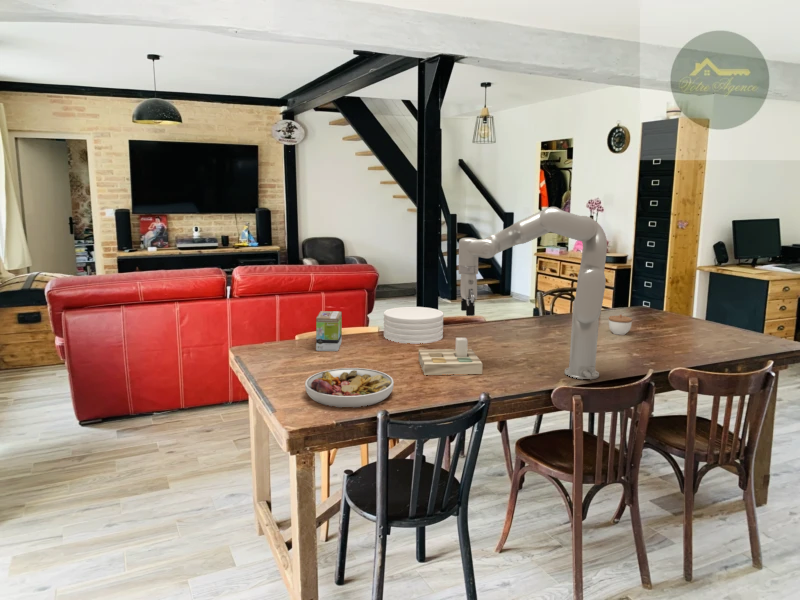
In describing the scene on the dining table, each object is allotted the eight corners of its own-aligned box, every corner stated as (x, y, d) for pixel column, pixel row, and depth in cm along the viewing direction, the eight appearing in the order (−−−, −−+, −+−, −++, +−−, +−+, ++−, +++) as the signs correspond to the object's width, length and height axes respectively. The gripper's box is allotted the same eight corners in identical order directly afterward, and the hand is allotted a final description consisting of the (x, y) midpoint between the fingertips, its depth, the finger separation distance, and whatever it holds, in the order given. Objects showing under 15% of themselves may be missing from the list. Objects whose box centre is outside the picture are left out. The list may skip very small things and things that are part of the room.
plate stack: (453, 334, 288) (454, 311, 286) (423, 347, 265) (423, 322, 263) (404, 326, 303) (404, 304, 301) (371, 338, 280) (371, 314, 278)
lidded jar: (628, 337, 285) (630, 318, 283) (605, 334, 291) (606, 315, 289) (632, 332, 294) (634, 314, 292) (610, 329, 300) (611, 311, 298)
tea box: (339, 351, 257) (338, 317, 254) (315, 351, 257) (315, 317, 254) (342, 342, 272) (341, 310, 269) (320, 342, 272) (319, 310, 269)
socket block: (482, 374, 227) (482, 362, 226) (424, 375, 225) (424, 363, 224) (471, 359, 247) (472, 348, 246) (418, 360, 245) (418, 348, 244)
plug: (466, 364, 236) (467, 340, 234) (456, 364, 236) (457, 340, 234) (464, 361, 240) (465, 337, 238) (455, 361, 240) (455, 337, 238)
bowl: (348, 375, 226) (348, 355, 225) (411, 393, 208) (411, 371, 206) (287, 396, 203) (286, 374, 202) (350, 418, 185) (350, 394, 183)
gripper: (483, 272, 224) (482, 317, 228) (472, 266, 241) (472, 308, 245) (463, 273, 224) (462, 318, 227) (454, 267, 241) (454, 308, 244)
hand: (467, 313), depth 236 cm, fingers open, 9 cm apart
